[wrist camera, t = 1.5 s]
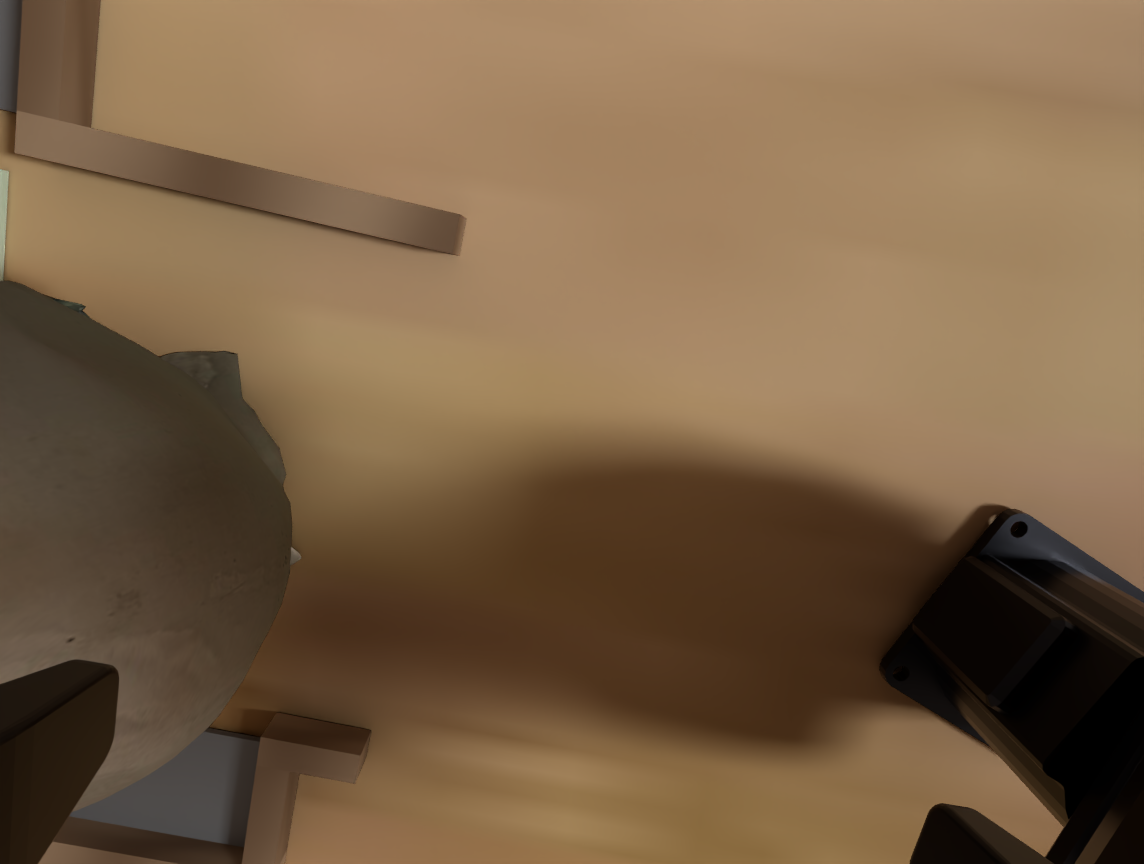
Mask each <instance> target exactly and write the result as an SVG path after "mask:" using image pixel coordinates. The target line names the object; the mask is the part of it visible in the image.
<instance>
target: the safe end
mask: <svg viewBox="0 0 1144 864" xmlns="http://www.w3.org/2000/svg"><path fill="white" fill-rule="evenodd" d="M8 177H9V171H6V170H1V169H0V281H3V273H4V254H5V234H6V215H7V196H8Z"/></svg>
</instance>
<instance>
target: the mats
mask: <svg viewBox="0 0 1144 864" xmlns="http://www.w3.org/2000/svg"><path fill="white" fill-rule="evenodd" d="M22 2H23V0H0V109H2V110H6V111H10V112H15V113H17V96H18V77H19V58H20V39H21V21H22ZM259 744H260V737H255V736H249V735H244V734H239V733H233V732H228V731H223V730H217V729H212V728H207V729H206V730H205V731H204V732H203V733H202V734H201V735H199V736H198V737H197V738H196V739H195V740H194V741H192V742H191V743H190V744H189V745H188V746H187V747H186V748H184V749H183V750H182V751H181V752H180V753H179V754H178V755H176V756H175V757H174V758H173V759H172V760H170V761H169V762H167V763H166V764H164V765H163V766H161V767H160V768H158V769H157V770H155V771H154V772H152V773H151V774H149V775H147V776H146V777H144V778H142V779H140V780H139V781H137V782H135V783H133V784H131V785H130V786H128V787H126V788H124V789H122V790H120V791H118V792H116V793H114V794H113V795H111V796H109V797H107V798H105V799H103V800H101V801H98V802H96V803H93V804H91V805H89V806H86V807H84V808H81V809H79V810H76V811H74V812H71V814H70V815H69V816H71V817H76V818H82V819H87V820H93V821H99V822H104V823H110V824H116V825H121V826H127V827H132V828H138V829H144V830H149V831H155V832H160V833H166V834H172V835H177V836H183V837H189V838H194V839H200V840H205V841H211V842H217V843H222V844H228V845H233V846H239V847H244V845H245V839H246V832H247V825H248V818H249V812H250V805H251V798H252V791H253V785H254V778H255V771H256V765H257V758H258V751H259Z"/></svg>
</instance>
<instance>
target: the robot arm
mask: <svg viewBox="0 0 1144 864" xmlns="http://www.w3.org/2000/svg"><path fill="white" fill-rule="evenodd" d="M1015 522H1019V527H1018V529H1017V530H1016V531H1014V532H1012V533H1011V532H1010V529H1011V527H1012V525H1013V524H1014V523H1015ZM899 666H904V667H903V669H902V671H900V672H899V673H896V674H893V672H894V670H895V669H896V668H897V667H899ZM879 670H880V673H881V675H882V676H883V678H884V679H885V680H886V681H887V682H888V683H889V684H890V685H891V686H892V687H894V688H895V689H897V690H899V691H900V692H902V693H903V694H905V695H907V696H908V697H910V698H912V699H913V700H915V701H916V702H918V703H920V704H921V705H923V706H925V707H926V708H928V709H930V710H931V711H933V712H934V713H936V714H938V715H939V716H941V717H943V718H944V719H946V720H947V721H949V722H951V723H952V724H954V725H956V726H957V727H959V728H960V729H962V730H964V731H965V732H967V733H969V734H970V735H972V736H974V737H975V738H977V739H978V740H980V741H982V742H983V743H985V744H987V745H988V746H990V747H991V748H992V749H993V750H994V751H995V752H996V753H997V754H998V755H999V757H1000V758H1001V759H1002V760H1003V761H1004V762H1005V763H1006V764H1007V765H1008V766H1009V768H1010V769H1011V770H1012V771H1013V772H1014V773H1015V774H1016V775H1017V776H1018V777H1019V779H1020V780H1021V781H1022V782H1023V783H1024V784H1025V785H1026V786H1027V787H1028V788H1029V790H1030V791H1031V792H1032V793H1033V794H1034V795H1035V796H1036V797H1037V798H1038V799H1039V800H1040V802H1041V803H1042V804H1043V805H1044V806H1045V807H1046V808H1047V809H1048V810H1049V811H1050V813H1051V814H1052V815H1053V816H1054V817H1055V818H1056V819H1057V820H1058V821H1059V822H1060V824H1061V825H1062V826H1063V827H1064V828H1063V830H1062V831H1061V833H1060V834H1059V836H1058V837H1057V839H1056V841H1055V842H1054V844H1053V845H1052V847H1051V848H1050V850H1049V852H1048V853H1047V855H1046V856H1045V857H1043V856H1042V855H1041V854H1039V853H1038V852H1036V851H1035V850H1033V849H1032V848H1030V847H1029V846H1027V845H1026V844H1024V843H1023V842H1022V841H1020V840H1019V839H1017V838H1016V837H1014V836H1013V835H1011V834H1010V833H1008V832H1007V831H1005V830H1004V829H1003V828H1001V827H1000V826H998V825H997V824H995V823H994V822H992V821H991V820H989V819H988V818H987V817H985V816H984V815H982V814H981V813H979V812H978V811H976V810H974V809H971V808H968V807H962V806H956V805H949V804H943V803H940V804H937V805H935V806H933V807H932V808H931V809H930V811H929V813H928V815H927V818H926V820H925V823H924V825H923V828H922V830H921V833H920V836H919V838H918V841H917V843H916V846H915V849H914V851H913V854H912V856H911V860H910V864H1144V592H1143V591H1141V590H1140V589H1138V588H1137V587H1135V586H1134V585H1132V584H1131V583H1129V582H1128V581H1126V580H1125V579H1123V578H1122V577H1120V576H1119V575H1118V574H1116V573H1115V572H1113V571H1112V570H1110V569H1109V568H1107V567H1106V566H1104V565H1103V564H1101V563H1100V562H1098V561H1097V560H1095V559H1094V558H1092V557H1091V556H1089V555H1088V554H1086V553H1085V552H1083V551H1082V550H1080V549H1079V548H1077V547H1076V546H1074V545H1073V544H1072V543H1070V542H1069V541H1067V540H1066V539H1064V538H1063V537H1061V536H1060V535H1058V534H1057V533H1055V532H1054V531H1052V530H1051V529H1049V528H1048V527H1046V526H1045V525H1043V524H1042V523H1040V522H1039V521H1037V520H1036V519H1034V518H1033V517H1031V516H1030V515H1028V514H1026V513H1024V512H1022V511H1020V510H1017V509H1008V510H1006V511H1003V512H1002V513H1001V514H1000V515H998V516H997V518H996V519H995V520H994V521H993V523H992V524H991V525H990V526H989V527H988V529H987V530H986V531H985V532H984V534H983V535H982V536H981V537H980V539H979V540H978V541H977V542H976V544H975V545H974V546H973V547H972V549H971V550H970V551H969V552H968V554H967V555H966V556H965V557H964V558H963V559H962V560H961V561H960V562H959V563H958V565H957V566H956V567H955V568H954V570H953V571H952V572H951V573H950V575H949V576H948V577H947V578H946V579H945V581H944V582H943V583H942V584H941V586H940V587H939V588H938V589H937V591H936V592H935V593H934V594H933V596H932V597H931V598H930V599H929V601H928V602H927V603H926V604H925V605H924V607H923V608H922V609H921V610H920V612H919V613H918V614H917V615H916V617H915V618H914V619H913V622H912V623H911V624H910V625H909V627H908V628H907V629H906V630H905V632H904V633H903V634H902V635H901V636H900V638H899V639H898V640H897V641H896V643H895V644H894V645H893V646H892V648H891V649H890V650H889V651H888V653H887V654H886V655H885V656H884V658H883V659H882V661H881V663H880V667H879ZM118 691H119V673H118V670H117V669H116V668H115V667H114V666H113V665H110V664H104V663H98V662H93V661H87V660H80V659H74V660H69V661H66V662H63V663H60V664H58V665H55V666H52V667H49V668H46V669H43V670H40V671H37V672H34V673H31V674H28V675H25V676H23V677H20V678H17V679H14V680H11V681H8V682H5V683H2V684H0V864H39V862H40V860H41V859H42V857H43V856H44V854H45V853H46V851H47V850H48V848H49V846H50V845H51V843H52V842H53V840H54V839H55V837H56V836H57V834H58V833H59V831H60V829H61V828H62V826H63V825H64V823H65V822H66V820H67V819H68V817H69V815H70V814H71V812H72V811H73V809H74V808H75V806H76V805H77V803H78V801H79V800H80V798H81V797H82V795H83V794H84V792H85V791H86V789H87V787H88V786H89V784H90V783H91V781H92V780H93V778H94V777H95V775H96V773H97V772H98V770H99V769H100V767H101V766H102V764H103V763H104V761H105V759H106V757H107V755H108V753H109V751H110V749H111V746H112V743H113V739H114V734H115V725H116V714H117V702H118Z"/></svg>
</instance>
